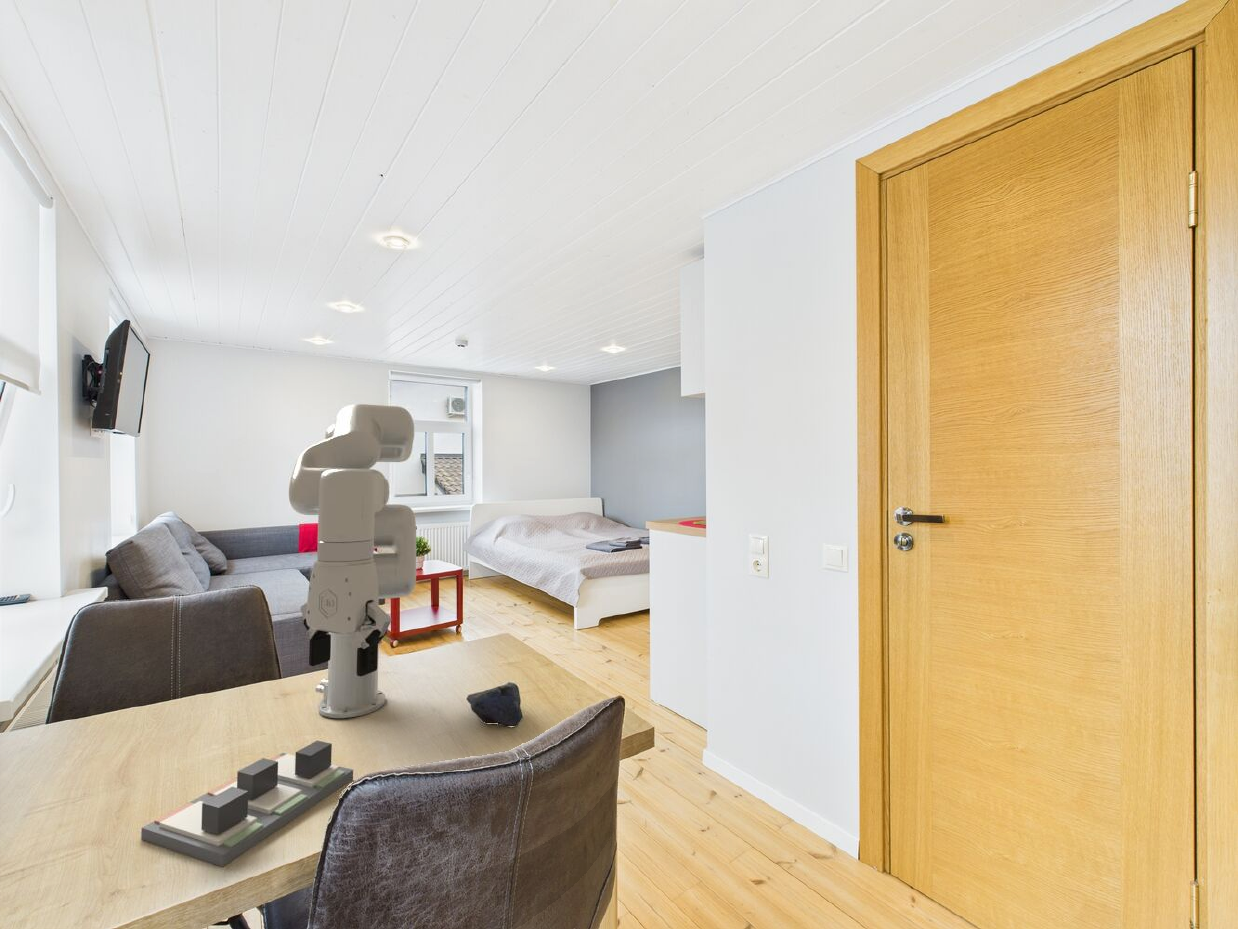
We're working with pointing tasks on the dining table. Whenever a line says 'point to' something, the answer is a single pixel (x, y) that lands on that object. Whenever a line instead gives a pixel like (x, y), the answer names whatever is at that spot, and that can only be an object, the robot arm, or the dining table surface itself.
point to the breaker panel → (263, 814)
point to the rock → (498, 705)
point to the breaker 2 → (313, 759)
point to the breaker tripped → (258, 777)
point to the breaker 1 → (224, 810)
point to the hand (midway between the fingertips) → (342, 668)
